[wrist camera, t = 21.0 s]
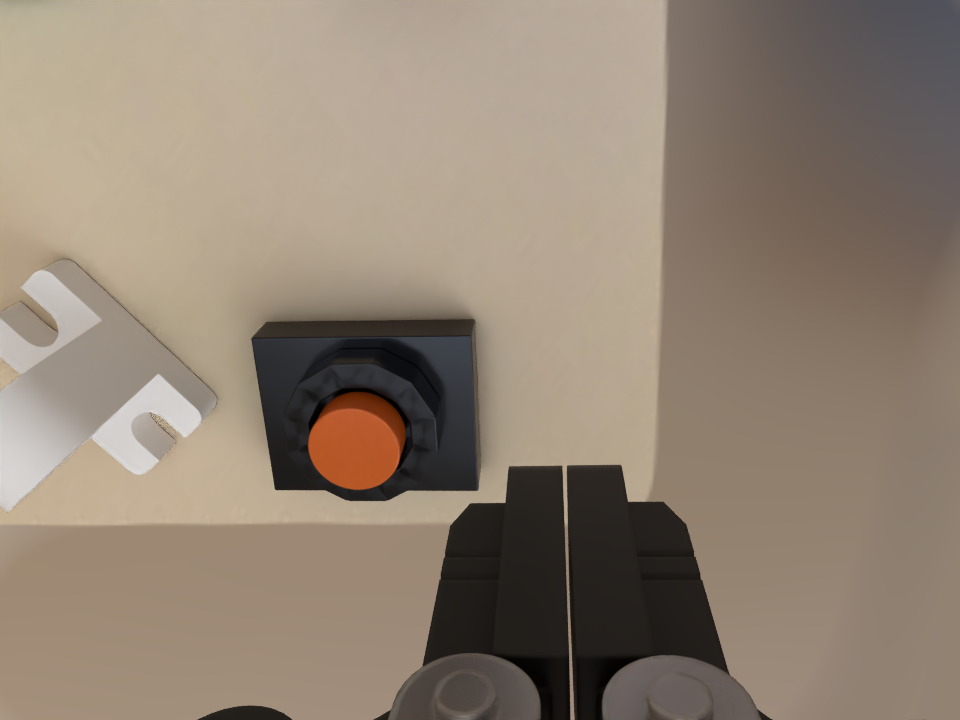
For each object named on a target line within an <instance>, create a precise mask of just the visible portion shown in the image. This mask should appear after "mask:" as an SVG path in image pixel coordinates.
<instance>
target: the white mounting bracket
mask: <svg viewBox="0 0 960 720" xmlns="http://www.w3.org/2000/svg"><path fill="white" fill-rule="evenodd" d="M21 288H22V289H23V290H24V291H25V292H26V293H27V294H28V295H29V296H31V297H32V298H33V299H34V300H35V301H36V302H37V303H38V304H39V305H40V306H42V307H43V308H44V309H45V310H46V311H47V312H48V313H49V314H50V315H51V316H52V317H53V318H54V320H55V321H56V323H57V326H58V332H57V331H55V330H53V329H51V328H50V327H49V326H48V325H46V324H45V323H44V322H43V321H42V320H41V319H40V318H39V317H38V316H36V315H35V314H34V313H33V312H32V311H31V310H30V309H29V308H27V307H26V306H25V305H24V304H23V303H22V302H21V301H20V302H19V303H17V304H15V305H13V306H11V307H9V308H7V309H5V310H3V311H1V312H0V357H1V358H2V359H3V360H4V361H5V362H7V363H8V364H9V365H10V366H11V367H12V368H13V369H15V370H16V371H17V372H18V373H19V374H20V376H19V377H18V378H16V379H15V380H14V381H12V382H11V383H10V384H8V385H7V386H6V387H5V388H3V389H2V390H1V391H0V507H1V508H2V509H4V510H5V511H6V512H7V513H8V512H9V511H10V510H11V509H13V508H14V507H15V506H16V505H17V504H18V503H19V502H20V501H21V500H23V499H24V498H25V497H26V496H27V495H28V494H29V493H30V492H31V491H32V490H34V489H35V488H36V487H37V486H38V485H39V484H40V483H41V482H42V481H43V480H45V479H46V478H47V477H48V476H49V475H50V474H51V473H52V472H53V471H54V470H55V469H57V468H58V467H59V466H60V465H61V464H62V463H63V462H64V461H65V460H66V459H68V458H69V457H70V456H71V455H72V454H73V453H74V452H75V451H76V450H77V449H79V448H80V447H81V446H82V445H83V444H84V443H85V442H86V441H87V440H88V439H90V438H92V439H93V440H94V441H95V442H96V443H97V444H99V445H100V446H101V447H102V448H103V449H104V450H105V451H107V452H108V453H109V454H110V455H111V456H112V457H114V458H115V459H116V460H117V461H118V462H119V463H120V464H122V465H123V466H124V467H125V468H126V469H127V470H128V471H130V472H131V473H134V474H137V475H141V474H145V473H146V472H148V471H149V470H150V469H151V468H152V467H153V466H154V465H155V464H157V463H158V462H159V461H160V460H161V459H162V457H163V456H164V455H165V454H166V453H167V452H168V451H169V449H170V448H171V447H172V446H173V445H174V444H175V443H176V441H175V440H174V439H173V438H172V437H171V436H170V435H169V434H168V433H166V432H165V431H164V430H163V429H162V428H161V427H160V426H159V425H158V424H156V422H155V421H154V420H153V418H152V417H151V414H150V413H154V414H157V415H159V416H161V417H162V418H163V419H165V420H166V421H167V422H168V423H169V424H170V425H171V426H172V427H173V428H175V429H176V430H177V431H178V432H179V433H180V434H181V435H182V436H183V437H184V438H186V437H187V436H188V435H189V434H190V433H191V432H193V431H194V430H195V429H196V428H197V427H198V426H199V425H200V424H201V423H202V421H203V420H204V419H205V418H206V417H207V416H208V414H209V413H210V412H211V411H212V410H213V409H214V407H215V406H216V404H217V398H216V395H215V394H214V393H213V391H212V390H211V389H209V388H208V387H207V386H206V385H205V384H204V383H203V382H202V381H201V380H200V379H199V378H198V377H197V376H196V375H194V374H193V373H192V372H191V371H190V370H189V369H188V368H187V367H186V366H185V365H184V364H183V363H182V362H181V361H180V360H178V359H177V358H176V357H175V356H174V355H173V354H172V353H171V352H170V351H169V350H168V349H167V348H166V347H165V346H163V345H162V344H161V343H160V342H159V341H158V340H157V339H156V338H155V337H154V336H153V335H152V334H151V333H150V332H148V331H147V330H146V329H145V328H144V327H143V326H142V325H141V324H140V323H139V322H138V321H137V320H136V319H135V318H133V317H132V316H131V315H130V314H129V313H128V312H127V311H126V310H125V309H124V308H123V307H122V306H121V305H120V304H119V303H117V302H116V301H115V300H114V299H113V298H112V297H111V296H110V295H109V294H108V293H107V292H106V291H105V290H104V289H102V288H101V287H100V286H99V285H98V284H97V283H96V282H95V281H94V280H93V279H92V278H91V277H90V276H89V275H87V274H86V273H85V272H84V271H83V270H82V269H81V268H80V267H79V266H78V265H77V264H76V263H74V262H73V261H71V260H68V259H62V260H59V261H57V262H55V263H53V264H51V265H49V266H47V267H45V268H43V269H41V270H38V271H36V272H35V273H34V274H33V275H32V276H31V277H30V278H29V279H28V280H27V281H26V282H25V283H24V284H23V285H22V287H21Z"/></svg>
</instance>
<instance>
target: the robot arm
mask: <svg viewBox="0 0 960 720" xmlns="http://www.w3.org/2000/svg"><path fill="white" fill-rule="evenodd" d="M567 498H568V543H569V544H568V547H569V587H570V588H569V589H570V617H571V642H572V666H573V691H574V713H575V714H574V715H575V720H772V719H770V718H769V717H767V716H766V715H764V714H763V713H762V712H760V711H759V710H758V709H757V708H756V706H755V704H754V702H753V700H752V698H751V696H750V695H749V694H748V693H747V691H746V690H745V689H744V687H743V686H742V685H740V684H739V683H738V682H737V681H736V680H735V679H734V678H733V677H731V676H730V674H729V672H728V669H727V665H726V662H725V658H724V655H723V652H722V648H721V644H720V641H719V637H718V634H717V630H716V627H715V623H714V620H713V616H712V613H711V609H710V606H709V602H708V599H707V595H706V592H705V589H704V585H703V582H702V580H701V578H700V572H699V568H698V564H697V561H696V557H694V550H693V547H692V543H691V540H690V536H689V533H688V529H687V526H686V524H685V523H684V522H683V521H682V520H681V519H680V518H679V517H678V516H677V515H676V514H675V513H674V512H673V511H672V510H671V509H670V508H669V507H668V506H667V505H666V504H665V503H664V502H628V500H627V494H626V488H625V483H624V477H623V471H622V467H621V465H570V466H567ZM564 530H565V529H564V501H563V473H562V466H509V470H508V481H507V492H506V503H470V504H469V506H468V507H467V508H466V509H465V510H464V511H463V512H462V513H461V515H460V516H459V517H458V518H457V519H456V520H455V521H454V522H453V523H452V525H451V526H450V530H449V535H448V540H447V545H446V551H445V558H444V561H443V566H442V571H441V580H440V581H439V586H438V591H437V596H436V601H435V606H434V611H433V616H432V621H431V626H430V631H429V636H428V641H427V646H426V651H425V656H424V662H423V666H422V667H421V668H420V669H419V670H417V671H416V672H415V673H413V674H412V675H411V676H410V677H409V678H408V679H407V680H406V681H405V683H404V684H403V685H402V687H401V688H400V690H399V691H398V693H397V695H396V698H395V700H394V702H393V705H392V708H391V710H390V711H388V712H386V713H385V714H383V715H381V716H380V717H378V718H376V719H374V720H570V684H569V683H570V680H569V642H568V615H567V585H566V557H565V531H564ZM198 720H292V719H291V718H289V717H288V716H286V715H285V714H284V713H282V712H279V711H277V710H274V709H272V708H267V707H263V706H238V707H233V708H228V709H223V710H220V711H217V712H215V713H211V714H209V715H207V716H205V717H202V718H200V719H198Z"/></svg>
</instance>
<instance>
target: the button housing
mask: <svg viewBox="0 0 960 720" xmlns="http://www.w3.org/2000/svg"><path fill="white" fill-rule="evenodd" d="M252 346H253V352H254V359H255V365H256V371H257V378H258V384H259V390H260V397H261V403H262V409H263V416H264V422H265V429H266V435H267V441H268V448H269V454H270V460H271V467H272V473H273V479H274V486H275V490H326V491H328V492H330V493H332V494H334V495H336V496H339V497H341V498H343V499H345V500H349V501H386V500H390V499H392V498H394V497H396V496H398V495H399V494H401V493H403V492H405V491H407V490H414V491H477V490H478V488H479V480H480V472H481V454H480V429H479V405H478V380H477V356H476V331H475V320H473V319H469V320H390V321H311V322H266V323H265V324H264V325H263V326H262V327H261V328H260V329H259V331H258V332H257V333H256V334H255V335H254V336H253V337H252ZM349 392H366V393H371V394H374V395H377V396H379V397H381V398H383V399H385V400H386V401H387V402H389V403H390V404H391V405H392V406H393V407H394V408H395V409H396V410H397V411H398V413H399V414H400V416H401V418H402V420H403V422H404V426H405V431H406V439H405V444H404V448H403V451H402V454H401V457H400V460H399V463H398V466H397V468H396V470H395V472H394V473H393V474H392V475H391V477H390V478H389V479H387V480H386V481H385V482H383V483H382V484H380V485H378V486H375V487H372V488H369V489H362V490H355V489H348V488H344V487H340V486H338V485H336V484H334V483H332V482H330V481H329V480H327V479H326V478H325V477H324V476H322V475H321V474H320V473H319V471H318V470H317V469H316V467H315V466H314V464H313V462H312V460H311V458H310V455H309V450H308V439H309V435H310V432H311V429H312V427H313V426H314V424H315V422H316V420H317V419H318V417H319V415H320V413H321V411H322V410H323V408H324V407H325V406H326V404H327V403H329V402H330V401H331V400H332V399H334V398H335V397H337V396H339V395H342V394H345V393H349Z"/></svg>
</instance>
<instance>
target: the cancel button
mask: <svg viewBox="0 0 960 720" xmlns="http://www.w3.org/2000/svg"><path fill="white" fill-rule="evenodd" d="M405 439H406V431H405V426H404V422H403V420H402V418H401V416H400V414H399V413H398V411H397V410H396V409H395V408H394V407H393V406H392V405H391V404H390V403H389V402H387V401H386V400H385V399H383V398H381V397H379V396H377V395H374V394H371V393H366V392H349V393H345V394H342V395H339V396H337V397H335V398H334V399H332V400H331V401H330V402H329V403H327V404H326V406H325V407H324V408H323V410H322V411H321V413H320V415H319V417H318V419H317V420H316V422H315V424H314V426H313V427H312V429H311V432H310V435H309V439H308V450H309V455H310V458H311V460H312V462H313V464H314V466H315V467H316V469H317V470H318V471H319V473H320V474H321V475H322V476H324V477H325V478H326V479H327V480H329V481H330V482H332V483H334V484H336V485H338V486H340V487H344V488H348V489H355V490H362V489H369V488H372V487H375V486H378V485H380V484H382V483H383V482H385V481H386V480H387V479H389V478H390V477H391V475H392V474H393V473H394V472H395V470H396V468H397V466H398V463H399V460H400V457H401V454H402V451H403V448H404V444H405Z"/></svg>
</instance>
